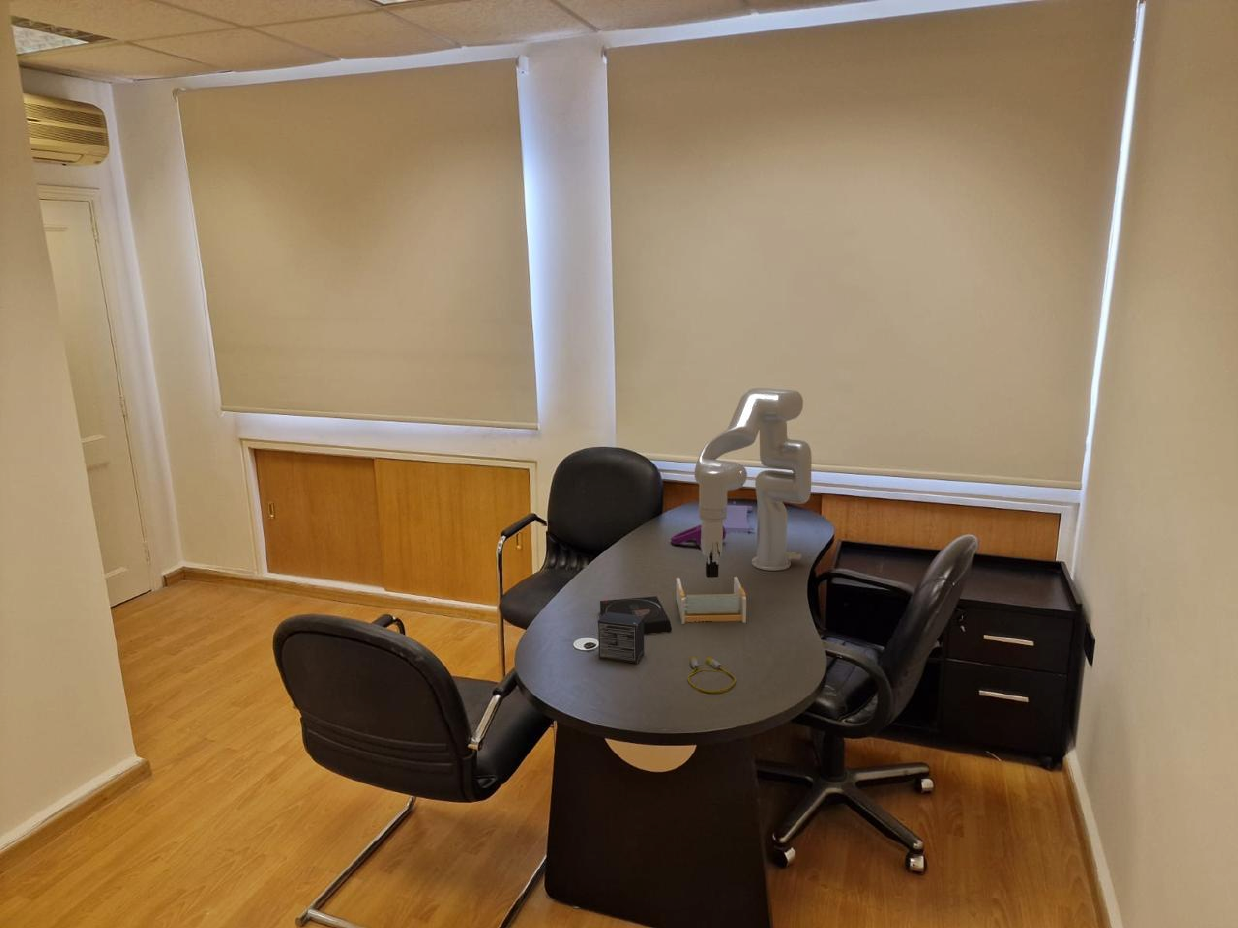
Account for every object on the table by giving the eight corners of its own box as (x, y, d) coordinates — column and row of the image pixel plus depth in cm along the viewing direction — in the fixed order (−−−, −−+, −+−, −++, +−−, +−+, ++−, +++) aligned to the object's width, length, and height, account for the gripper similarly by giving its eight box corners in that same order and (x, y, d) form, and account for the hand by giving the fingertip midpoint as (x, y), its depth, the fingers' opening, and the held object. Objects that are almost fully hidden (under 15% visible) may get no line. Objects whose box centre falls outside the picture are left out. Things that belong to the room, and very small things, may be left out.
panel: (736, 615, 226) (736, 593, 225) (737, 619, 224) (737, 597, 222) (686, 616, 226) (686, 594, 225) (687, 620, 224) (687, 598, 222)
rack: (736, 599, 237) (737, 575, 235) (746, 622, 221) (746, 596, 219) (676, 600, 236) (676, 576, 235) (681, 623, 221) (681, 598, 219)
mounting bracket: (677, 563, 283) (722, 547, 275) (667, 541, 283) (712, 525, 275) (685, 554, 292) (729, 539, 284) (675, 533, 291) (719, 517, 283)
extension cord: (740, 665, 198) (740, 658, 198) (733, 698, 183) (733, 690, 183) (691, 661, 201) (691, 653, 201) (680, 692, 186) (680, 684, 186)
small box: (645, 653, 205) (645, 614, 202) (638, 664, 199) (637, 625, 196) (606, 647, 208) (605, 609, 206) (597, 658, 202) (596, 620, 200)
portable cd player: (672, 633, 216) (672, 619, 215) (609, 639, 214) (609, 625, 213) (658, 608, 232) (658, 596, 231) (600, 614, 229) (599, 600, 228)
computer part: (752, 511, 323) (714, 510, 325) (752, 501, 322) (714, 500, 324) (754, 535, 295) (712, 533, 297) (754, 524, 294) (713, 522, 296)
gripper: (696, 505, 225) (695, 567, 229) (702, 521, 210) (701, 586, 215) (723, 504, 225) (721, 566, 229) (730, 520, 210) (729, 586, 215)
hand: (712, 576), depth 222 cm, fingers closed
